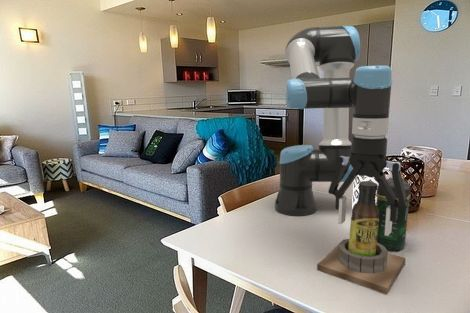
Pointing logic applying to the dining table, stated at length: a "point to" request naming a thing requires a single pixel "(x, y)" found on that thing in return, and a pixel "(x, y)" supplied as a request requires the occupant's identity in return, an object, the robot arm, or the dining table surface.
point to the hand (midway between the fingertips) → (363, 227)
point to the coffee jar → (398, 227)
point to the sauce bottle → (364, 221)
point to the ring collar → (363, 267)
